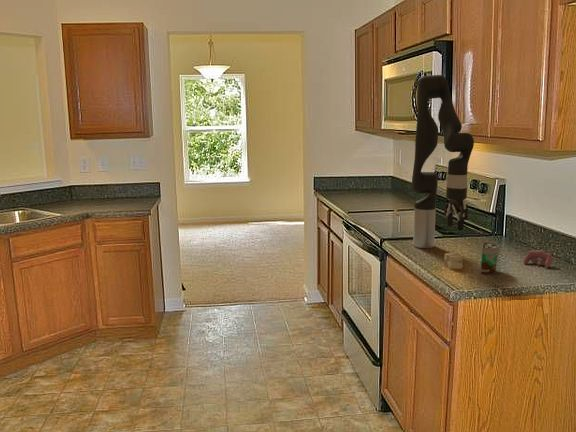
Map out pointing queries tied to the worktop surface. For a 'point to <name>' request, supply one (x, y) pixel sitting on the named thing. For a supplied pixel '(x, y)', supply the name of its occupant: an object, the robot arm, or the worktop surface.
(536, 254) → the pink toy figure
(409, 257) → the worktop surface
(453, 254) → the birch cube
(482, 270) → the food container
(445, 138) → the robot arm
